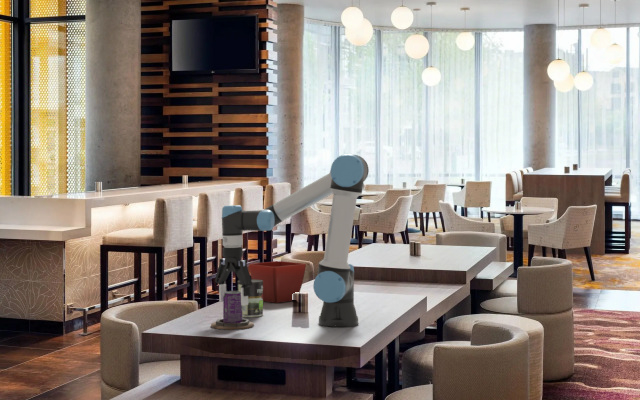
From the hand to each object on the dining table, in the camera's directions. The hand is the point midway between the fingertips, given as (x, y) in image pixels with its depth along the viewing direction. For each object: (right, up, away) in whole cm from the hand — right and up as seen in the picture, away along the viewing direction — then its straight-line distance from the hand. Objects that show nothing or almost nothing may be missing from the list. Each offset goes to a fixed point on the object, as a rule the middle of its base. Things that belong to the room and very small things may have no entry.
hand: (233, 303), depth 312 cm
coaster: (0, -9, 0) cm, 9 cm away
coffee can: (+4, -8, +25) cm, 27 cm away
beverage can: (0, -8, 0) cm, 8 cm away
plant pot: (+13, -7, +66) cm, 67 cm away
